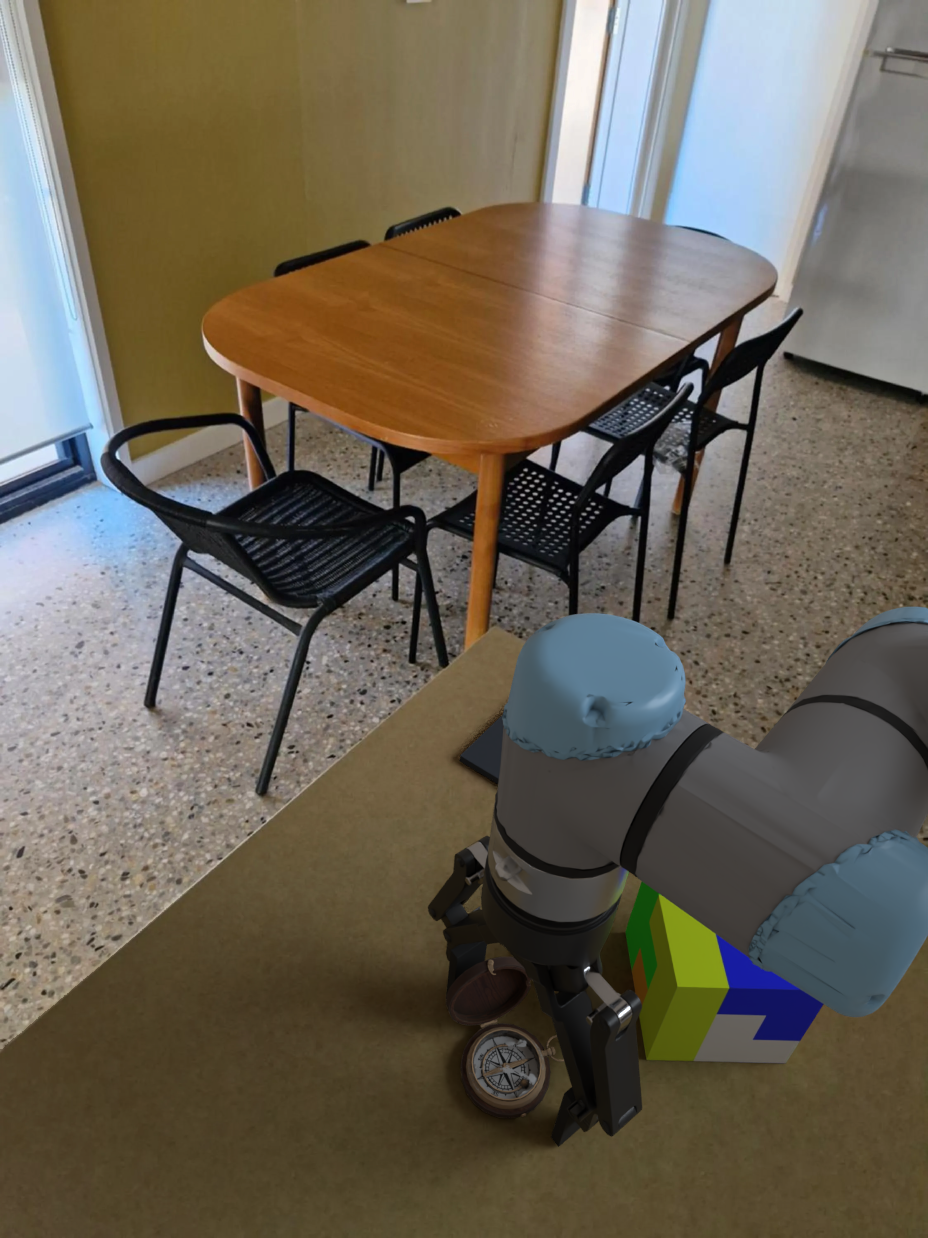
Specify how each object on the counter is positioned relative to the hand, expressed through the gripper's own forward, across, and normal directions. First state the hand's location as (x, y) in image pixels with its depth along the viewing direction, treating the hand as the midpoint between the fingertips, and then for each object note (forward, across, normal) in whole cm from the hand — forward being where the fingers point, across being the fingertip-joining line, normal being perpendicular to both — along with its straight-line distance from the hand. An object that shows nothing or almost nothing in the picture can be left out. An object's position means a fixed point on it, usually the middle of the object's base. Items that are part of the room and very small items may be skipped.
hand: (513, 1057), depth 62 cm
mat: (0, -20, +22) cm, 29 cm away
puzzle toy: (0, +5, +15) cm, 15 cm away
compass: (0, 0, 0) cm, 0 cm away
